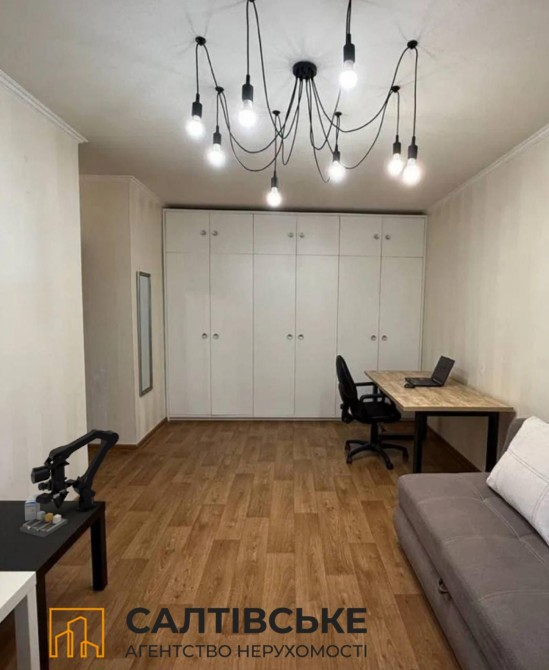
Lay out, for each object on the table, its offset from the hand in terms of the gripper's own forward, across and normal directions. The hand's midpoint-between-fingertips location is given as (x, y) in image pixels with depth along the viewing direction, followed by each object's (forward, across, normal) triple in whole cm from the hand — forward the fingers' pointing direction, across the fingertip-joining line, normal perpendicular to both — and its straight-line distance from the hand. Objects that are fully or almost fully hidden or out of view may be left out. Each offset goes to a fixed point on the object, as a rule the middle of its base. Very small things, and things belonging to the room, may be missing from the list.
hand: (58, 508), depth 171 cm
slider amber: (+3, +5, 0) cm, 6 cm away
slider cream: (+3, +5, +5) cm, 7 cm away
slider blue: (+3, +5, -5) cm, 7 cm away
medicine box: (+5, +3, -13) cm, 14 cm away
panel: (+4, +8, 0) cm, 9 cm away
